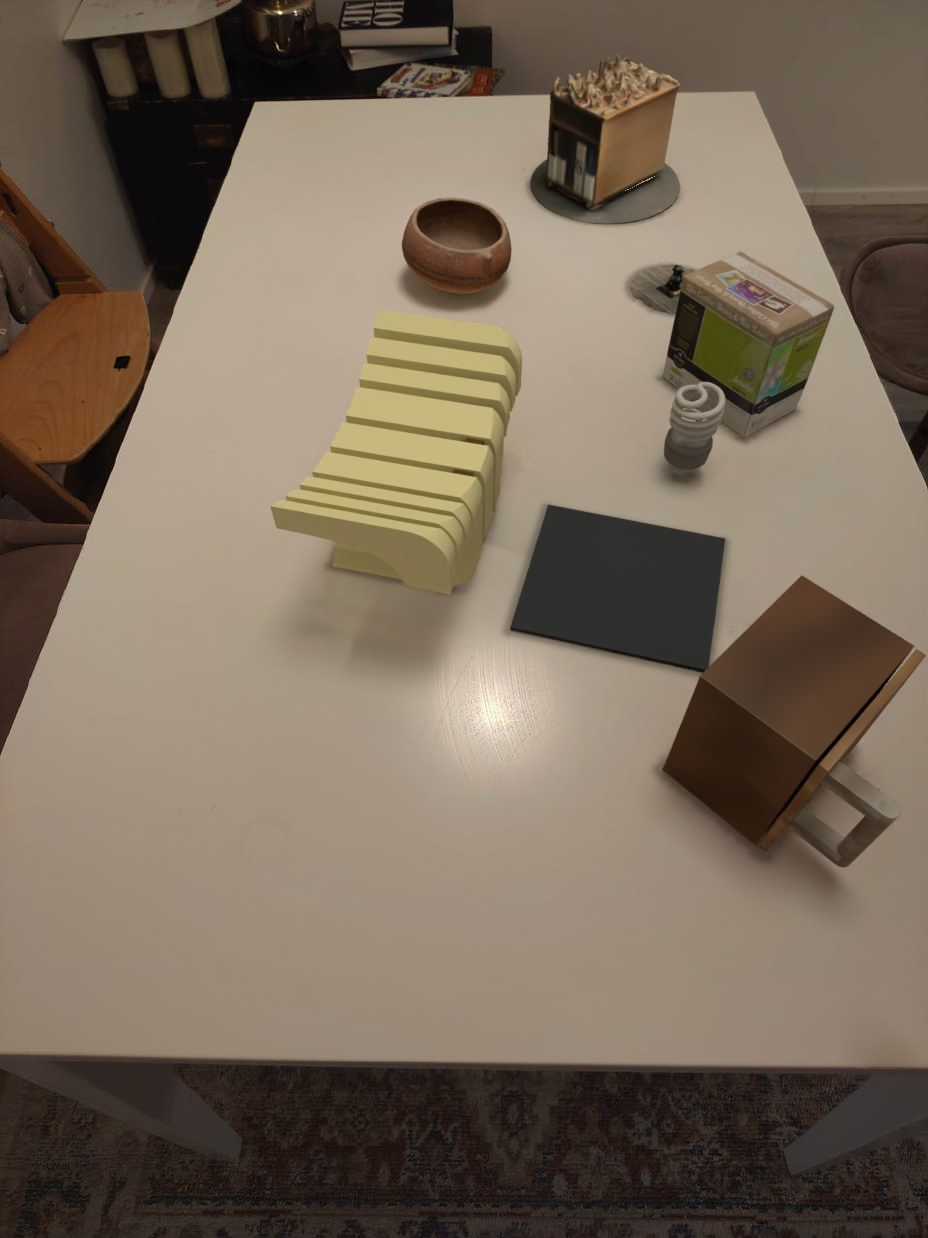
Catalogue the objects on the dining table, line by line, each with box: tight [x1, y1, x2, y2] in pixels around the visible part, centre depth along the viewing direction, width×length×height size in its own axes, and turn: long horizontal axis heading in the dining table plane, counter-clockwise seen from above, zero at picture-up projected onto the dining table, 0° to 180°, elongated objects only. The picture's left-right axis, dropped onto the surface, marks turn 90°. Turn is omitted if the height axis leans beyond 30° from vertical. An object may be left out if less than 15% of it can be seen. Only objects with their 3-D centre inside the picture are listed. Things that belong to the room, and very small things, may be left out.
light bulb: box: [663, 382, 725, 474], centre depth 93 cm, size 6×6×12 cm
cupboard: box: [662, 575, 915, 846], centre depth 69 cm, size 10×14×16 cm
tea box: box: [662, 251, 835, 438], centre depth 101 cm, size 15×10×15 cm, turn 34°
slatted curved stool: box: [269, 308, 523, 596], centre depth 86 cm, size 30×16×18 cm, turn 166°
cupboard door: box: [758, 649, 927, 868], centre depth 66 cm, size 6×14×16 cm, turn 134°
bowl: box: [401, 197, 513, 295], centre depth 119 cm, size 16×16×10 cm
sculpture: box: [629, 264, 697, 315], centre depth 121 cm, size 12×9×8 cm
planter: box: [529, 54, 681, 225], centre depth 132 cm, size 25×25×19 cm
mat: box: [509, 504, 726, 673], centre depth 88 cm, size 20×18×1 cm
